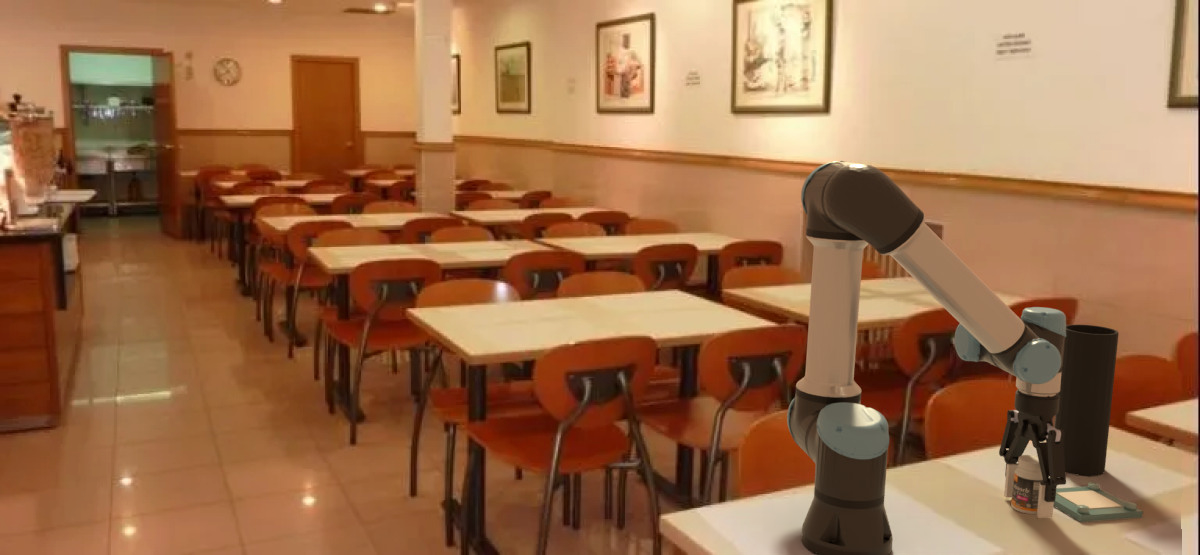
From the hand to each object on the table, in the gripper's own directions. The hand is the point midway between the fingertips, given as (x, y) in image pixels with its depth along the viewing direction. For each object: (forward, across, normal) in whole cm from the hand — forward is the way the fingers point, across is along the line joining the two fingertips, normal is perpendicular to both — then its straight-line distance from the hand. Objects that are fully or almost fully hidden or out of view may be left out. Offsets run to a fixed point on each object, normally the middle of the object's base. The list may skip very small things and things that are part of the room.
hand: (1027, 506), depth 185 cm
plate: (+1, 0, -12) cm, 13 cm away
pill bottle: (+1, 0, 0) cm, 1 cm away
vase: (+1, +19, -25) cm, 31 cm away
